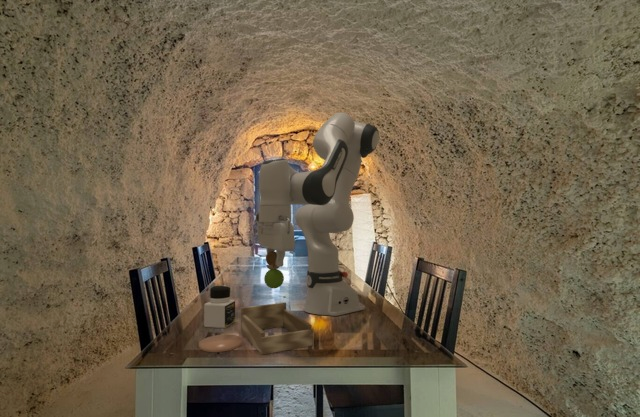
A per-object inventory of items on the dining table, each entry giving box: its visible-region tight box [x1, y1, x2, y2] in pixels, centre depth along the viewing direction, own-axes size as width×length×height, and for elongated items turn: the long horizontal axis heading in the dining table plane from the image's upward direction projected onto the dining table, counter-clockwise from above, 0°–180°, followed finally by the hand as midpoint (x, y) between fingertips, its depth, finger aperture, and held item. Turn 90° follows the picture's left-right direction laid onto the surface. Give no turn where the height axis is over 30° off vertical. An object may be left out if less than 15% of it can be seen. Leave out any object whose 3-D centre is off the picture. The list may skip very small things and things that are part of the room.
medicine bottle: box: [203, 284, 236, 329], centre depth 112 cm, size 7×7×12 cm
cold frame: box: [240, 302, 314, 356], centre depth 99 cm, size 14×20×7 cm
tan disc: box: [198, 334, 243, 353], centre depth 94 cm, size 11×11×1 cm
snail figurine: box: [263, 251, 285, 289], centre depth 99 cm, size 5×6×12 cm
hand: (275, 265), depth 100 cm, fingers open, 4 cm apart
